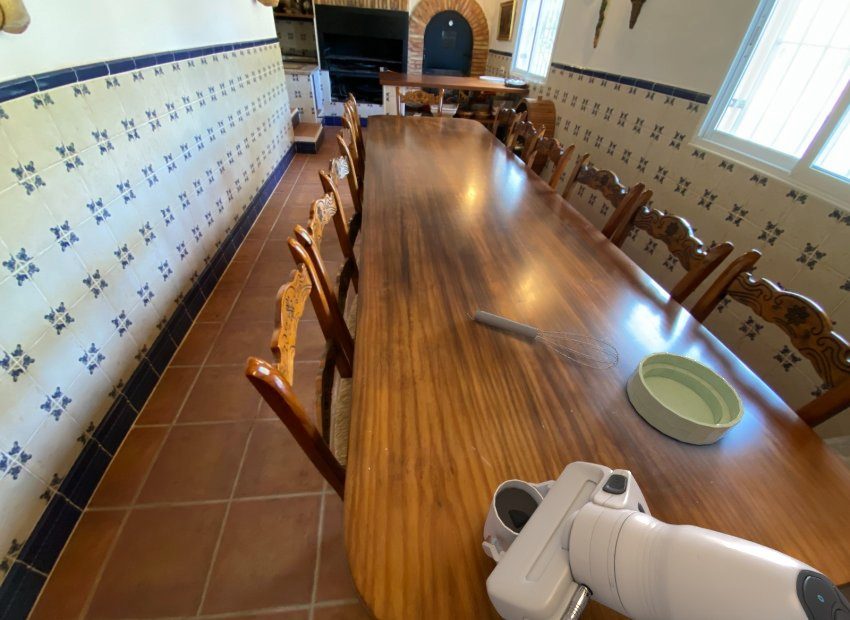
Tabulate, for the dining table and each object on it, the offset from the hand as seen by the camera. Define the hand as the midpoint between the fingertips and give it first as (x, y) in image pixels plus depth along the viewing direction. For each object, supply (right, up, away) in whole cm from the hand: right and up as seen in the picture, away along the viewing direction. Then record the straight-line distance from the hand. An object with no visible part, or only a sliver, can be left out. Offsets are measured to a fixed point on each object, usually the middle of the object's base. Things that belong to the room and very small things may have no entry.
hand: (508, 515), depth 47 cm
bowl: (+38, +8, +23) cm, 45 cm away
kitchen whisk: (+14, +19, +34) cm, 42 cm away
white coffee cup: (0, -5, +3) cm, 6 cm away
